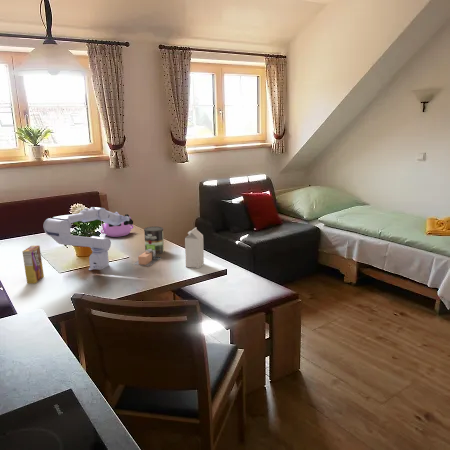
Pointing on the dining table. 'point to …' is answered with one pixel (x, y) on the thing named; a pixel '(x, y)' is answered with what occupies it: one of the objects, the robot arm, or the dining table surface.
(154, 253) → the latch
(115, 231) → the teapot
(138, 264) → the board
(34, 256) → the candy box
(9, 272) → the dining table surface
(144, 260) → the cover
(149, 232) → the coffee can
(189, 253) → the milk carton
